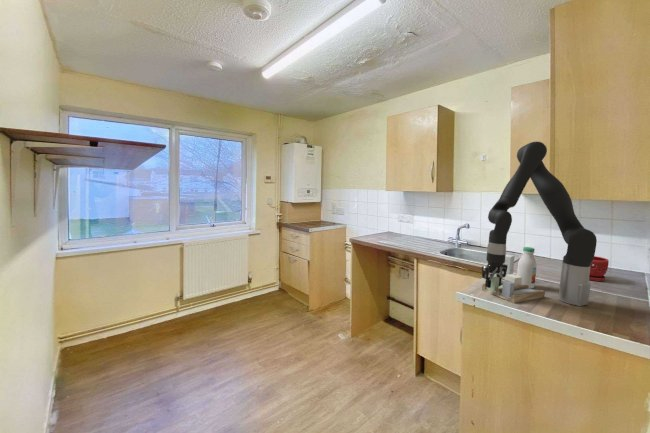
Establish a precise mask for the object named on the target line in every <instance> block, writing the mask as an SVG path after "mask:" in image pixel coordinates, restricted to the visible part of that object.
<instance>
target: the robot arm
mask: <svg viewBox="0 0 650 433" xmlns="http://www.w3.org/2000/svg"><path fill="white" fill-rule="evenodd" d="M547 153H548V149H547V146H546V145H545V143H543V142H541V141H531V142H529V143H527V144H525V145H523V146H521V147H520V148H519V149H518V150H517V154H516V159H517V161H518V163H519V165H518V167H517V169H516V171H515V173H514V174H513V176H512V177H510V179H509V181H508V182H507V184H506V185H505V186H504V189H503V191H502V193H501V194H500V197H499V199H498V200H496V202H495V204H493V206H492V207H491V209H490V210H489V212H488V215H487V219H488V221H489V223H491V224H493V225H494V227H493V228H494V229H492V230H490V231H489V236H488V243H487V250H486V258H485V259H486V260H485V261H487V265H485V266H484V265H483V266H482V265H481V266H482V267H481V276H482V279H484V280H485V283H484V284H485V286H486V287H488V288H490V287H491V279H492V277H493V276H494V275H495V274H496V277H499V286H501V281H503V279H502V278H503V277H506V272H507V267H508V265H505V264H504V263H505V256H506V254H507V237H508V236H507V235H508V233H509V232H510V228H511V225H512V222H513V216H512V214H511V213H510V211H508V210H510V208H514V207H515V206H516V205H517V204H518V201H519V200H520V198H521V195H522V194H523V192H524V189H525V187H526V185H527V183H528V182H529V180H530V179H531V181H532V183H533V185H534V188H535V189H536V191H537V192H538V195H539V197H540V199H541V200H542V202H543V204H544V205H545V207H546V208H547V210H548V212H549V213H550V214H551V217H553V218H554V220H555V222H556V224H557V227H558V228H559V230H560V233H561V235H562V238H563V241H564V242H565V243H566V244H567V249H566V254H565V255H564V256H563V257H562V264H561V265H562V266H561V272H560V280H559V288H558V289H559V290H558V300H559V301H561V302H563V303H566V304H569V305H574V306H577V307H581V306H586V305H589V300H590V293H591V285H592V284H591V283H590V282H589V281H590V280H589V274H590V267H591V262H592V261H593V259H594V256H596V255H595V254H596V250H597V249H596V248H597V236H596V234H595V233H594V232H593V231H592V230H590V229H587V228H585V227H584V225H583V224H582V223H581V222H580V220H579V218H578V217H577V215H576V213H575V210H574V205H573V200H572V199H571V198H572V197H571V196H570V194H569V192H568V191H567V188H566V186H564V184H563V183H562V182H561V181H560V179H558V178H557V177H556V176H555V175H554V174H552V173H551V172H550V171H549V169H548V168H547V167H546V166H545V164H544V162H543V160H545V159H544V158H545V157H546V156H547ZM503 272H504V273H503ZM489 276H490V277H489Z"/></svg>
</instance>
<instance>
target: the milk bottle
mask: <svg viewBox="0 0 650 433" xmlns="http://www.w3.org/2000/svg"><path fill="white" fill-rule="evenodd" d="M522 250H523V251H522V252H523V253H522V255H521V256H520V258H519V260H518V264H517V270H516V275H517V276H520V277H522V284H521V285H529V288H530V289H534V288H535V284H536V276H537V261H536V258H535V255H534V253H535V250H536V249H535V248H534V247H529V246H524V247H523V249H522Z"/></svg>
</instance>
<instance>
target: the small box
mask: <svg viewBox="0 0 650 433" xmlns="http://www.w3.org/2000/svg"><path fill="white" fill-rule="evenodd" d="M515 257H516V256H515V255H514V254H508V253H506V256H505V263H504V264H505V265H508V267H507V272H506V275H508V274H514V267H515ZM503 273H504V272H503ZM494 276H496V274H495V275H494ZM502 280H503V281H505V277H503V278H502Z"/></svg>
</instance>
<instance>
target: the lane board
mask: <svg viewBox="0 0 650 433" xmlns="http://www.w3.org/2000/svg"><path fill="white" fill-rule="evenodd" d="M503 281H504V280H502V281H501V285H503ZM527 288H529V285H520V286H514V291H515V290H521V289H527ZM481 290H482V291H484V292H486V293H488V294H491V295H494V296H496V297H498V298H501V299H503V300H505V301H508V302H510V303H512V304H516V303H521V302H527V301H531V300H537V299H542V298H543V299H544V298H545V294H546V290H542V289H540V290H535V291H533V292H527V293H522V294H516V295H511V299H510V298H507V297H505V296H502V295H500V293H502V288H501V289H496V293H495V292H493V291H490V290H488V289H486V286H485V283H482V285H481Z"/></svg>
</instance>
